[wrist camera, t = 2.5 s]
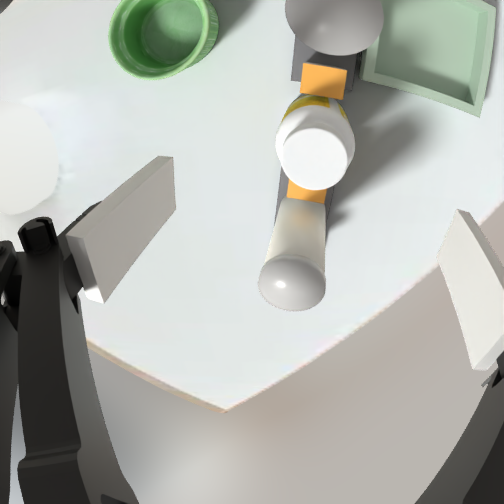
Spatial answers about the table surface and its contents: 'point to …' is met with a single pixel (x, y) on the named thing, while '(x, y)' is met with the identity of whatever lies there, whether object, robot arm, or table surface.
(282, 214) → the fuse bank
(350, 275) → the table surface
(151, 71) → the ramekin
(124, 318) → the table surface
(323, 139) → the supplement bottle
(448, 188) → the table surface
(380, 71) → the tray
